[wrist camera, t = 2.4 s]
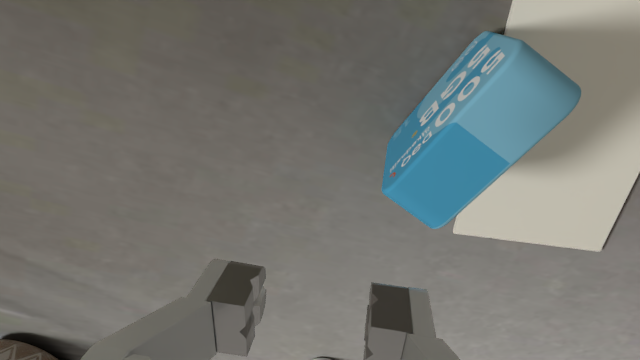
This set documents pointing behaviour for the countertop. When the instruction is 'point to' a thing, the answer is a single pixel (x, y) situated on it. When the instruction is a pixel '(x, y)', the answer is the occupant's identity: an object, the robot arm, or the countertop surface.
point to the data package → (474, 127)
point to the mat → (572, 130)
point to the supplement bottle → (321, 359)
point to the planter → (22, 351)
